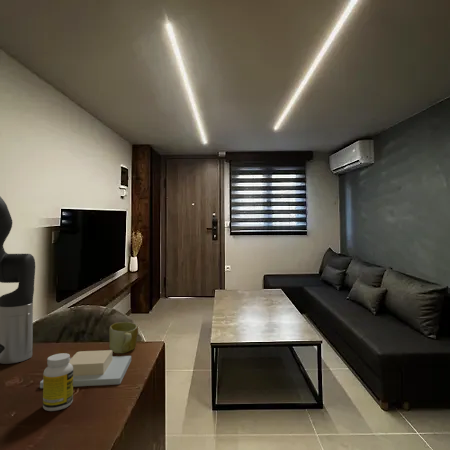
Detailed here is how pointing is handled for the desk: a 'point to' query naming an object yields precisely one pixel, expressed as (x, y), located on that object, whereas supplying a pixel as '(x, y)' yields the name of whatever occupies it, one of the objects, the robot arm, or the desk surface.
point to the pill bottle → (58, 382)
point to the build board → (108, 375)
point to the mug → (123, 337)
